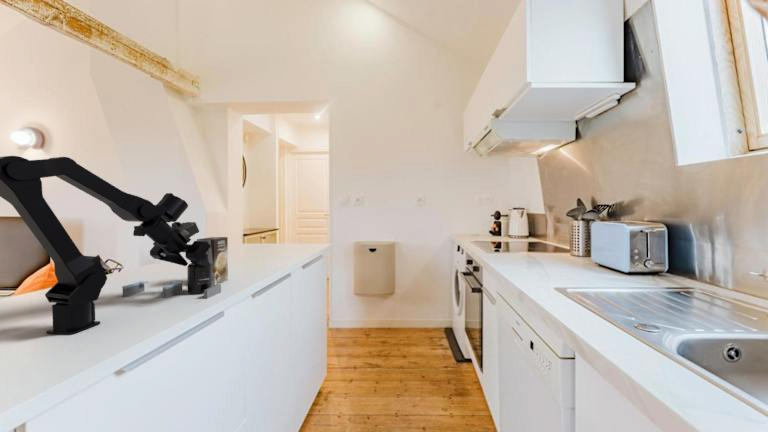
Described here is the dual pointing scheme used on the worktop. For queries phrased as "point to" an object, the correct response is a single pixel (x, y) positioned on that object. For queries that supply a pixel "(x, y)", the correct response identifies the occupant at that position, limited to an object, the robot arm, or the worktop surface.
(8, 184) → the robot arm
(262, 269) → the worktop surface
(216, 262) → the coffee box
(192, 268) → the supplement bottle
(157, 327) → the worktop surface
